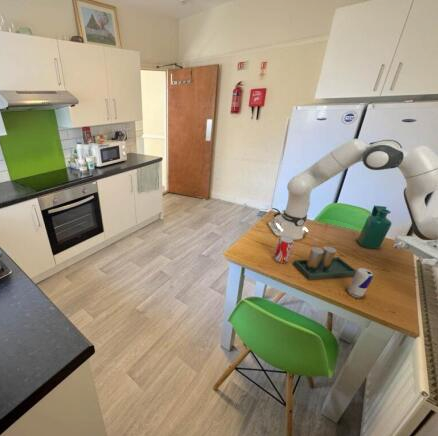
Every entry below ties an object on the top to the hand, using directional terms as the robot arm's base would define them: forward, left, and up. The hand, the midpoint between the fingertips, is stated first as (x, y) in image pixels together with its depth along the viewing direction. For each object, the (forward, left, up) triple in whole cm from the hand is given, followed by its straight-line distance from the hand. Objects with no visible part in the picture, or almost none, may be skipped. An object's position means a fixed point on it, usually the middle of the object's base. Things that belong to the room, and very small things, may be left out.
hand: (407, 253), depth 95 cm
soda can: (-26, -32, -20) cm, 46 cm away
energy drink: (0, -14, -20) cm, 25 cm away
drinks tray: (-16, -16, -20) cm, 30 cm away
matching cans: (-16, -20, -20) cm, 32 cm away
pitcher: (-34, +24, -20) cm, 46 cm away
